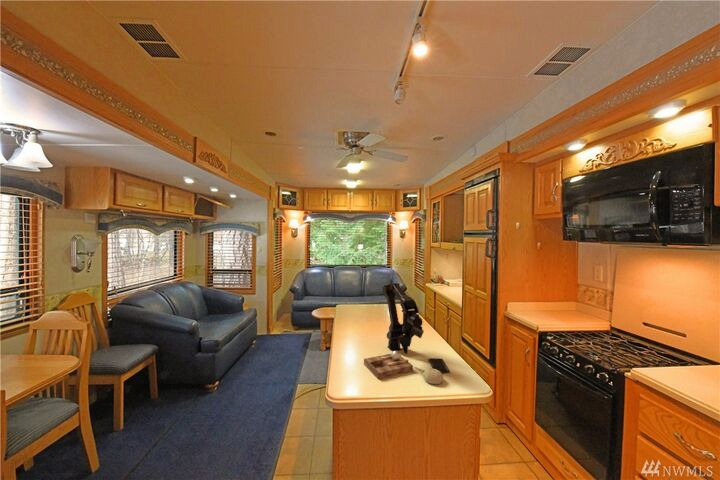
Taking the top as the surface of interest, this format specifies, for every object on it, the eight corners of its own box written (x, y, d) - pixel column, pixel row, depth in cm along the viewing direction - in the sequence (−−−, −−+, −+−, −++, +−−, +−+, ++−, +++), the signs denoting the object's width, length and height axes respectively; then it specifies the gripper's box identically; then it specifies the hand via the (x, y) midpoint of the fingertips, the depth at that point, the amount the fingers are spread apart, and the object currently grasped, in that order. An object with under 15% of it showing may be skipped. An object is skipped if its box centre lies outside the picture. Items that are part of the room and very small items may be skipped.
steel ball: (397, 357, 146) (397, 348, 146) (402, 361, 142) (402, 352, 142) (389, 359, 144) (389, 349, 144) (394, 363, 140) (394, 353, 140)
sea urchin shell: (418, 371, 134) (430, 360, 134) (429, 382, 134) (440, 371, 135) (424, 382, 125) (437, 369, 125) (436, 393, 125) (448, 381, 126)
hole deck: (395, 357, 153) (395, 350, 152) (412, 371, 138) (412, 363, 138) (363, 364, 144) (363, 357, 144) (378, 379, 130) (378, 371, 130)
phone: (442, 358, 151) (450, 372, 136) (442, 360, 151) (450, 374, 136) (428, 358, 151) (434, 371, 136) (428, 360, 151) (434, 373, 136)
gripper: (420, 329, 138) (419, 359, 139) (424, 318, 156) (424, 345, 156) (398, 326, 142) (398, 355, 142) (405, 316, 159) (404, 342, 160)
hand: (407, 349), depth 150 cm, fingers open, 9 cm apart
